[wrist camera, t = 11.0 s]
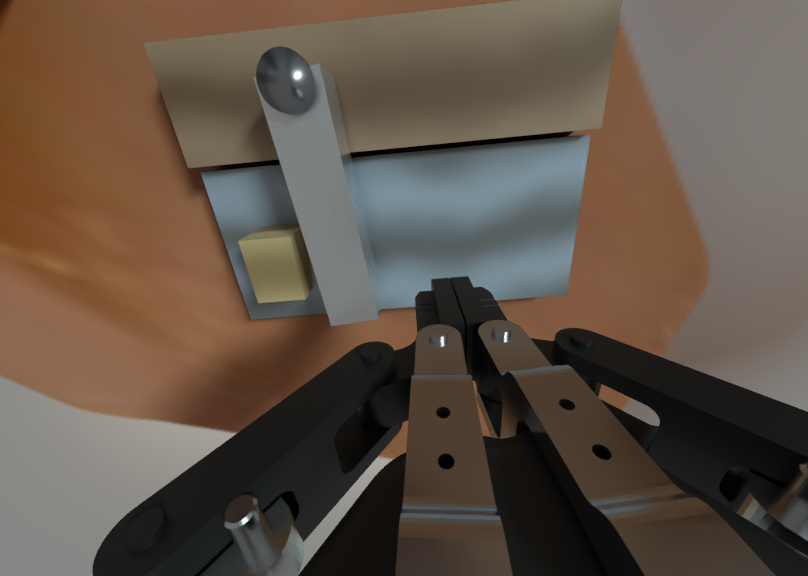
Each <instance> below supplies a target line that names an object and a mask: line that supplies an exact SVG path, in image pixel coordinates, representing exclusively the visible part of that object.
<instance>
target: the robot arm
mask: <svg viewBox="0 0 808 576" xmlns="http://www.w3.org/2000/svg"><path fill="white" fill-rule="evenodd" d="M415 306H416V320H417V336H416V340H415V341H414V342H413V343H412V344H411V345H409V346H407V347H405V348H403V349H400V350H396V351H394V349H393V348H392V347H391V346H390V345H388V344H386V343H383V342H368V343H364V344H361V345H359V346H357V347H356V348H354V349H353V350H351V351H350V352H349V353H347V354H346V355H344V356H343V357H342V358H340V359H339V360H338V361H336V362H335V363H333V364H332V365H331V366H329V367H328V368H327V369H325V370H324V371H322V372H321V373H320V374H318V375H317V376H316V377H314V378H313V379H311V380H310V381H309V382H307V383H306V384H305V385H303V386H302V387H300V388H299V389H298V390H296V391H295V392H294V393H292V394H291V395H289V396H288V397H287V398H285V399H284V400H283V401H281V402H280V403H278V404H277V405H276V406H274V407H273V408H272V409H270V410H269V411H267V412H266V413H265V414H263V415H262V416H261V417H259V418H258V419H256V420H255V421H254V422H252V423H251V424H250V425H248V426H247V427H245V428H244V429H243V430H241V431H240V432H239V433H237V434H236V435H234V436H233V437H232V438H230V439H229V440H228V441H226V442H225V443H223V444H222V445H221V446H219V447H218V448H217V449H215V450H214V451H212V452H211V453H210V454H209V455H207V456H206V457H204V458H203V459H202V460H200V461H199V462H197V463H196V464H195V465H193V466H192V467H190V468H189V469H188V470H186V471H185V472H184V473H182V474H181V475H180V476H178V477H177V478H176V479H174V480H173V481H171V482H170V483H169V484H167V485H166V486H164V487H163V488H162V489H160V490H159V491H158V492H157V493H155V494H153V495H152V496H151V497H149V498H148V499H147V500H145V501H144V502H142V503H141V504H140V505H138V506H137V507H136V508H134V509H133V510H132V511H130V512H129V513H128V514H127V515H126V516H125V517H124V518H122V519H121V520H120V521H119V522H118V524H116V526H115V527H114V528H113V529H112V530H111V531H110V533H109V534H108V535H107V537H106V538H105V539H104V541H103V542H102V544H101V546H100V548H99V550H98V552H97V554H96V557H95V559H94V563H93V576H297V575H298V574H299V571H300V568H301V566H302V561H303V556H304V545H303V542H304V541H305V539H306V538H307V537H308V536H309V535H310V534H311V533H312V531H313V530H314V529H315V528H316V527H317V526H318V525H319V523H320V522H321V521H322V520H323V519H324V518H325V517H326V515H327V514H328V513H329V512H330V511H331V510H332V508H333V507H334V506H335V505H336V504H337V503H338V502H339V500H340V499H341V498H342V497H343V496H344V495H345V493H346V492H347V491H348V490H349V489H350V488H351V486H352V485H353V484H354V483H355V482H356V481H357V480H358V479H359V477H360V476H361V475H362V474H363V473H364V472H365V470H366V469H367V468H368V467H369V466H370V465H371V463H372V462H373V461H374V460H375V459H376V458H377V457H378V455H379V454H380V453H381V452H382V451H383V450H384V449H385V447H386V446H387V445H388V444H389V443H390V442H391V441H392V439H393V438H394V437H395V436H396V435H397V434H398V432H399V431H400V429H401V427H402V423H403V422H404V421H407V420H408V435H407V450H406V453H404V454H402V455H400V456H398V457H397V458H395V459H394V460H392V461H391V462H390V463H388V464H387V465H386V466H385V467H384V468H383V469H382V470H381V471H380V472H379V473H378V474H377V475H376V476H375V477H374V478H373V480H372V481H371V482H370V483H369V485H368V486H367V487H366V489H365V490H364V491H363V492H362V494H361V495H360V496H359V498H358V499H357V500H356V501H355V503H354V504H353V506H352V507H351V508H350V509H349V511H348V512H347V513H346V514H345V516H344V517H343V519H342V520H341V521H340V522H339V523H338V525H337V526H336V527H335V529H334V530H333V531H332V533H331V534H330V535H329V536H328V538H327V539H326V540H325V542H324V543H323V544H322V545H321V547H320V548H319V549H318V551H317V552H316V553H315V554H314V556H313V557H312V558H311V560H310V561H309V562H308V564H307V565H306V566H305V567H304V569H303V570H302V571H301V573H300V574H299V575H298V576H808V412H806V411H804V410H801V409H798V408H796V407H793V406H791V405H788V404H785V403H783V402H780V401H777V400H774V399H772V398H769V397H767V396H763V395H761V394H758V393H755V392H753V391H750V390H748V389H745V388H742V387H740V386H737V385H734V384H732V383H729V382H726V381H724V380H721V379H718V378H716V377H713V376H710V375H707V374H705V373H702V372H699V371H697V370H694V369H691V368H689V367H686V366H683V365H681V364H678V363H675V362H673V361H670V360H667V359H665V358H662V357H659V356H657V355H654V354H651V353H648V352H646V351H643V350H640V349H638V348H635V347H632V346H630V345H627V344H624V343H622V342H619V341H616V340H614V339H611V338H608V337H606V336H603V335H600V334H598V333H595V332H592V331H589V330H585V329H580V328H567V329H563V330H560V331H559V332H557V333H556V335H555V340H554V341H548V340H539V339H533V338H530V337H529V336H528V335H527V334H526V332H525V331H524V330H523V329H522V328H521V327H520V326H519V325H517V324H515V323H513V322H509V321H507V319H506V317H505V316H504V314H503V312H502V310H501V309H500V307H499V306H498V304H497V302H496V300H495V299H494V297H493V295H492V293H491V292H490V291H488V290H487V289H485V288H483V287H473V285H472V283H471V281H470V279H469V277H468V276H463V277H450V279H449V278H438V279H431V291H419V293H418V294H417V296H416V297H415ZM473 381H475V382H476V385H477V391H476V398H477V402H478V404H479V407H480V409H481V412H482V414H483V417H484V419H485V422H486V425H487V427H488V430H489V432H490V435H491V437H487V436H483V435H482V430H481V424H480V419H479V414H478V408H477V403H476V398H475V392H474V387H473ZM601 384H603V385H605V386H607V387H610V388H612V389H614V390H616V391H618V392H620V393H622V394H624V395H626V396H628V397H630V398H633V399H635V400H637V401H639V402H641V403H643V404H645V405H647V406H649V407H650V408H651V409H653V410H654V411H655V412H656V414H657V415H658V417H659V419H660V425H659V426H653V425H649V424H647V423H645V422H643V421H641V420H639V419H638V418H636V417H634V416H632V415H630V414H628V413H626V412H624V411H622V410H620V409H618V408H616V407H614V406H612V405H610V404H608V403H606V402H605V401H603V400H601V399H599V398H598V396H599V392H600V388H601Z"/></svg>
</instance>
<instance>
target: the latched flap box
mask: <svg viewBox="0 0 808 576" xmlns="http://www.w3.org/2000/svg"><path fill="white" fill-rule="evenodd" d="M621 2H622V0H517V1H508V2H499V3H491V4H482V5H473V6H464V7H455V8H447V9H438V10H429V11H420V12H411V13H402V14H394V15H385V16H376V17H367V18H358V19H349V20H341V21H332V22H323V23H314V24H305V25H297V26H288V27H279V28H270V29H261V30H252V31H244V32H235V33H226V34H217V35H208V36H200V37H191V38H182V39H173V40H164V41H155V42H147V43H144V46H145V49H146V52H147V54H148V57H149V60H150V63H151V66H152V68H153V71H154V74H155V77H156V79H157V82H158V85H159V88H160V91H161V93H162V96H163V99H164V102H165V105H166V107H167V110H168V113H169V116H170V119H171V121H172V124H173V127H174V130H175V133H176V135H177V138H178V141H179V144H180V147H181V149H182V152H183V155H184V158H185V160H186V163H187V166H188V168H197V167H207V166H217V165H227V164H238V163H248V162H258V161H269V160H279V158H278V155H277V151H276V148H275V145H274V142H273V139H272V135H271V132H270V129H269V126H268V123H267V119H266V116H265V113H264V110H263V107H262V103H261V100H260V97H259V94H258V91H257V87H256V84H255V81H254V78H253V77H256V69H257V65H258V62H259V60H260V58H261V56H262V55H263V54H264V53H265V52H266V51H267V50H269V49H271V48H273V47H278V46H283V47H287V48H290V49H292V50H294V51H296V52H297V53H298V54H300V55H301V56H302V57H303V58H304V59H305V60H306V61H307V62H308V63H309V65H315V64H320V65H321V66H322V67H323V68H324V69H325V70H326V71H327V72H328V73H329V74H330V75H331V76H332V77H333V78H334V82H335V86H336V91H337V95H338V100H339V104H340V109H341V114H342V118H343V123H344V127H345V132H346V136H347V141H348V145H349V150H350V153H351V152H361V151H372V150H382V149H392V148H402V147H413V146H423V145H433V144H444V143H454V142H464V141H474V140H485V139H495V138H505V137H516V136H526V135H536V134H546V133H557V132H567V131H577V130H588V129H598V128H601V127H602V121H603V115H604V108H605V102H606V96H607V90H608V84H609V77H610V71H611V65H612V59H613V53H614V46H615V40H616V34H617V28H618V22H619V15H620V9H621ZM589 142H590V135H579V136H567V137H557V138H546V139H536V140H526V141H515V142H505V143H495V144H484V145H474V146H464V147H453V148H443V149H433V150H422V151H412V152H401V153H391V154H381V155H370V156H360V157H351V159H352V163H353V168H354V172H355V177H356V181H357V186H358V190H359V195H360V199H361V204H362V208H363V213H364V217H365V222H366V227H367V231H368V236H369V240H370V245H371V249H372V254H373V258H374V263H375V267H376V272H377V276H378V281H379V285H380V290H381V294H382V302H381V309H393V308H406V307H416V306H415V297H416V296H417V294H418V293H419V291H431V279H438V278H449V279H450V277H463V276H468V277H469V279H470V281H471V283H472V285H473V287H483V288H485V289H487V290H488V291H490V292H491V293H492V295H493V297H494V299H495V300H509V299H522V298H535V297H547V296H560V295H567V289H568V282H569V276H570V269H571V262H572V256H573V249H574V242H575V236H576V229H577V222H578V215H579V209H580V202H581V195H582V189H583V182H584V175H585V169H586V162H587V155H588V149H589ZM200 173H201V176H202V179H203V182H204V184H205V187H206V190H207V193H208V196H209V199H210V202H211V205H212V208H213V211H214V213H215V216H216V219H217V222H218V225H219V228H220V231H221V234H222V237H223V240H224V243H225V245H226V248H227V251H228V254H229V257H230V260H231V263H232V266H233V269H234V272H235V274H236V277H237V280H238V283H239V286H240V289H241V292H242V295H243V298H244V301H245V304H246V306H247V309H248V312H249V315H250V318H251V320H252V319H265V318H278V317H291V316H303V315H316V314H327V311H326V308H325V305H324V302H323V298H322V295H321V292H320V289H319V286H318V282H317V279H316V276H315V273H314V270H313V266H312V263H311V260H310V257H309V254H308V250H307V247H306V244H305V241H304V238H303V234H302V231H301V228H300V225H299V222H298V218H297V215H296V212H295V209H294V206H293V202H292V199H291V196H290V193H289V190H288V186H287V183H286V180H285V177H284V174H283V171H282V167H281V164H277V165H267V166H257V167H246V168H236V169H226V170H216V171H208V172H200Z"/></svg>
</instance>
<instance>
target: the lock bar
mask: <svg viewBox="0 0 808 576" xmlns="http://www.w3.org/2000/svg"><path fill="white" fill-rule="evenodd" d="M253 78H254V81H255V84H256V87H257V91H258V94H259V97H260V100H261V103H262V107H263V110H264V113H265V116H266V119H267V123H268V126H269V129H270V132H271V135H272V139H273V142H274V145H275V148H276V151H277V155H278V158H279V161H280V164H281V167H282V171H283V174H284V177H285V180H286V183H287V186H288V190H289V193H290V196H291V199H292V202H293V206H294V209H295V212H296V215H297V218H298V222H299V225H300V228H301V231H302V234H303V238H304V241H305V244H306V247H307V250H308V254H309V257H310V260H311V263H312V266H313V270H314V273H315V276H316V279H317V282H318V286H319V289H320V292H321V295H322V298H323V302H324V305H325V308H326V311H327V314H328V317H329V321H330V324H331V326H336V325H343V324H350V323H357V322H363V321H370V320H377V319H379V316H380V309H381V302H382V294H381V290H380V285H379V281H378V276H377V272H376V267H375V263H374V258H373V254H372V249H371V245H370V240H369V236H368V231H367V227H366V222H365V217H364V213H363V208H362V204H361V199H360V195H359V190H358V186H357V181H356V177H355V172H354V168H353V163H352V159H351V154H350V150H349V145H348V141H347V136H346V132H345V127H344V123H343V118H342V114H341V109H340V104H339V100H338V95H337V91H336V86H335V82H334V78H333V77H332V76H331V75H330V74H329V73H328V72H327V71H326V70H325V69H324V68H323V67H322V66H321V65H320V64H315V65H309V63H308V62H307V61H306V60H305V59H304V58H303V57H302V56H301V55H300V54H298V53H297V52H296V51H294V50H292V49H290V48H287V47H283V46H278V47H273V48H271V49H269V50H267V51H266V52H265V53H264V54H263V55H262V56H261V58H260V60H259V62H258V65H257V69H256V77H253Z"/></svg>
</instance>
